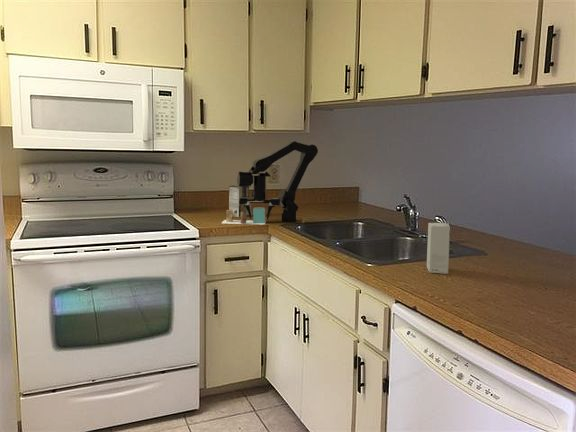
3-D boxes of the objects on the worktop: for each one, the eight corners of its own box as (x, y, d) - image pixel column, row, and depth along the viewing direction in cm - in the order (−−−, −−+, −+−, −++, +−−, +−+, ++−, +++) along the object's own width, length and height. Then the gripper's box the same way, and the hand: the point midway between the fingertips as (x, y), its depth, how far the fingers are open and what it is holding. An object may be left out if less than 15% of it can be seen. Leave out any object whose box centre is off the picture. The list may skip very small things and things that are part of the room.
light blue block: (265, 221, 238) (265, 207, 237) (264, 223, 233) (264, 209, 232) (254, 221, 238) (254, 207, 237) (253, 222, 233) (253, 208, 232)
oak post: (232, 222, 237) (232, 210, 236) (231, 223, 235) (231, 210, 234) (227, 222, 237) (227, 209, 236) (226, 223, 235) (226, 210, 234)
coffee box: (239, 215, 260) (239, 184, 258) (249, 216, 257) (249, 184, 254) (228, 217, 252) (228, 185, 250) (238, 218, 249) (239, 186, 247)
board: (266, 222, 239) (266, 220, 239) (264, 226, 230) (264, 224, 229) (224, 221, 240) (224, 219, 240) (221, 225, 230) (221, 223, 230)
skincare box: (448, 274, 154) (451, 226, 152) (428, 273, 155) (431, 225, 153) (444, 267, 162) (447, 222, 160) (425, 266, 163) (428, 221, 161)
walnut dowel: (246, 224, 233) (246, 211, 232) (245, 225, 231) (245, 212, 230) (240, 224, 233) (241, 211, 232) (240, 225, 231) (240, 212, 230)
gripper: (280, 185, 241) (280, 217, 243) (241, 184, 241) (241, 216, 244) (279, 187, 230) (278, 221, 232) (238, 186, 230) (238, 220, 233)
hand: (259, 219), depth 235 cm, fingers open, 7 cm apart
